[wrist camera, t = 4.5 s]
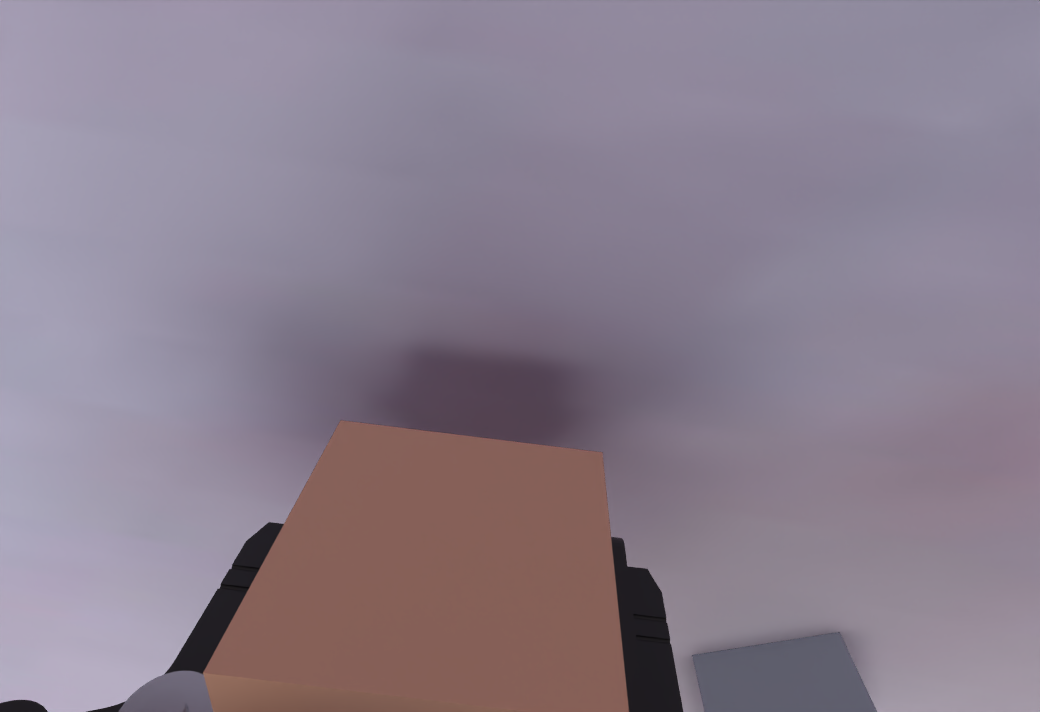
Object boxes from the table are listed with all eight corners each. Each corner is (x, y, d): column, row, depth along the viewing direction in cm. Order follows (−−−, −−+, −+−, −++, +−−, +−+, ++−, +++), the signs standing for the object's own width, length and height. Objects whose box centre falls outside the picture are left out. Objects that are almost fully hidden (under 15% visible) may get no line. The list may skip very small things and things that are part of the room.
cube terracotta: (602, 452, 11) (630, 724, 7) (563, 620, 14) (566, 898, 9) (340, 420, 11) (203, 673, 7) (349, 595, 14) (252, 861, 9)
